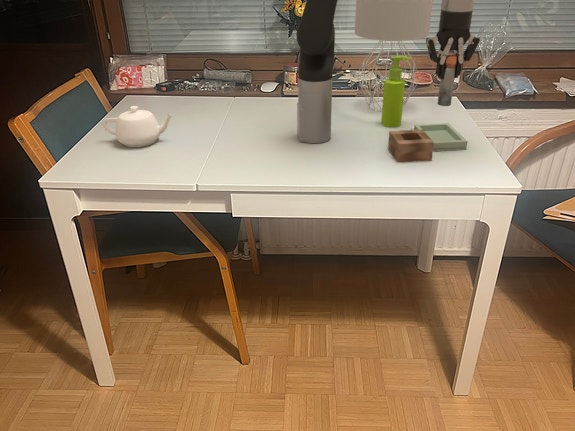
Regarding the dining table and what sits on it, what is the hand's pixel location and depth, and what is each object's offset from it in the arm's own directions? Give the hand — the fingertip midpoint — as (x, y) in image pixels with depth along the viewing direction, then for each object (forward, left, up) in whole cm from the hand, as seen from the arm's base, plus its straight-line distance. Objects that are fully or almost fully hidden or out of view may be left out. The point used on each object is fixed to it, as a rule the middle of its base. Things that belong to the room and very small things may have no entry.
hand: (447, 77), depth 140 cm
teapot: (-83, +11, -18) cm, 86 cm away
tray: (0, 0, -18) cm, 18 cm away
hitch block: (-11, -8, -18) cm, 22 cm away
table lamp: (-7, +31, -18) cm, 37 cm away
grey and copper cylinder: (0, 0, -7) cm, 7 cm away
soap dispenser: (-9, +15, -18) cm, 25 cm away
